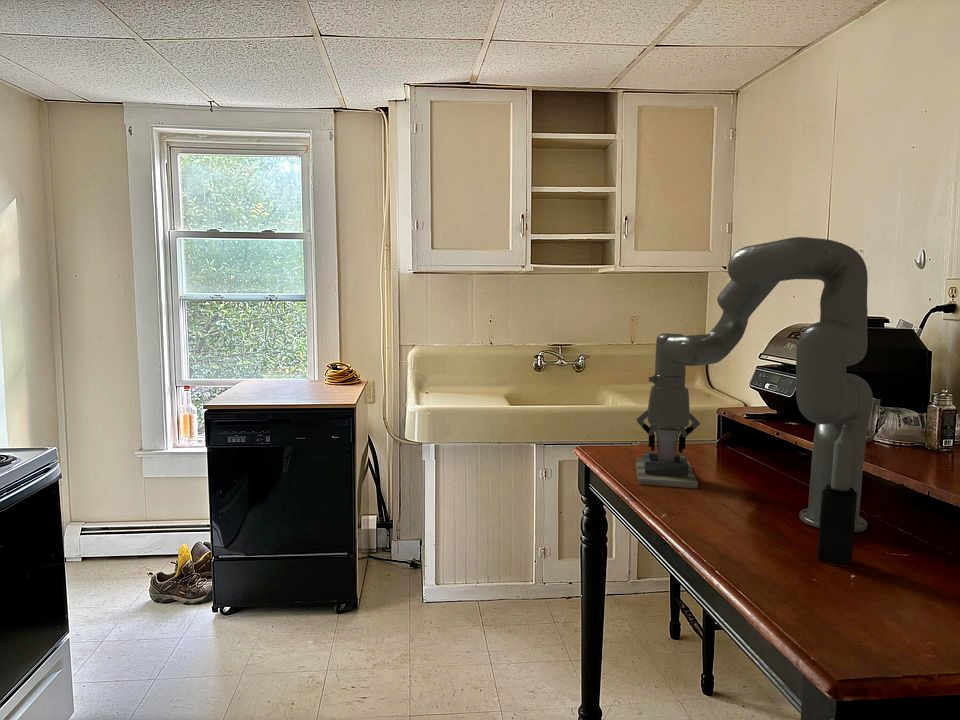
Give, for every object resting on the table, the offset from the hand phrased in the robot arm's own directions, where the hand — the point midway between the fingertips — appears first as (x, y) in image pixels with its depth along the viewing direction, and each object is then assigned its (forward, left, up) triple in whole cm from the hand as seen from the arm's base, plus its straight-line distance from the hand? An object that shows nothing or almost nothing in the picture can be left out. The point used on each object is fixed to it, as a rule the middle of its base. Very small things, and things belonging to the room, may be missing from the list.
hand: (666, 450), depth 174 cm
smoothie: (0, 0, -4) cm, 4 cm away
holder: (0, 0, -7) cm, 7 cm away
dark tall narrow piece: (-49, -26, -7) cm, 56 cm away
